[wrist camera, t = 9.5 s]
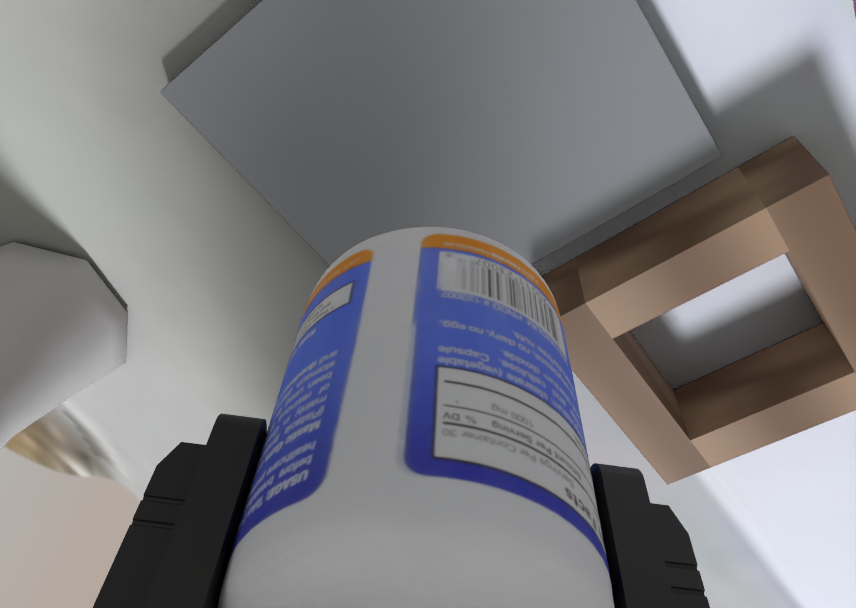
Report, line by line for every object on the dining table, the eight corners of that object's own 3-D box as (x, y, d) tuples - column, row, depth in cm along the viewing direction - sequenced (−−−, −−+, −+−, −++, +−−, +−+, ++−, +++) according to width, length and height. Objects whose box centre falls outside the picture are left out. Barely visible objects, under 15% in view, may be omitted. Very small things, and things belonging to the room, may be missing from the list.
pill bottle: (355, 432, 17) (262, 978, 9) (266, 248, 14) (17, 828, 6) (581, 394, 16) (687, 976, 8) (537, 186, 13) (638, 794, 5)
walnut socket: (652, 433, 33) (667, 484, 31) (531, 282, 29) (537, 328, 26) (888, 332, 29) (926, 381, 27) (793, 135, 25) (829, 174, 22)
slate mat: (402, 327, 30) (401, 339, 30) (168, 83, 24) (160, 92, 24) (715, 146, 25) (721, 155, 24) (510, -222, 19) (512, -223, 18)
